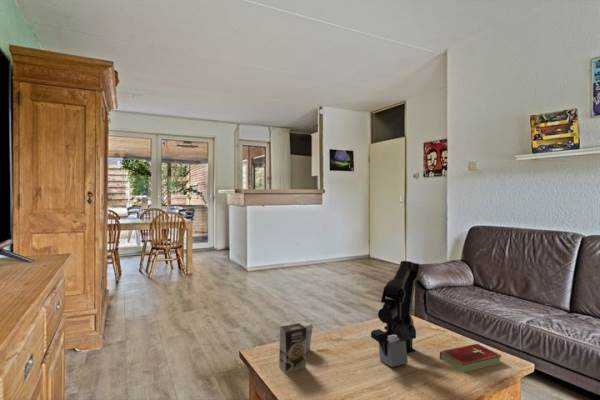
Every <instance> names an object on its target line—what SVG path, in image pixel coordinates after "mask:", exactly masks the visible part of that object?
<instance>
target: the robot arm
mask: <svg viewBox="0 0 600 400" xmlns="http://www.w3.org/2000/svg"><path fill="white" fill-rule="evenodd" d="M422 270H423V269H422V266H421V265H420V264H419V263H418V262H412V261H408V260H401V261H400V263H399V267H398V269H397V271H396V273H395V274H394V275H395V276H394V277H393V279H391V280H389V281H388V282H386V285H385V286H384V288H383V291H382V295H381V300H380V303H383V304H382V305H383V306H382V308H380V309H379V310H378V312H377V313H378V314H377V316H378V319H379V321H381V322H382V323H383V324H386V325H385V326H384V330H386V331H383V330H382V329H379V328H378V329H373V330H372V331H370V332H371V333H370V338H372V339H373V340H375V341H376V342H378V345H379V344H380V346H381V348H382V351H383V353H384V355H385V356H387V344H388V343H389V341H388V340H387V339H388V337H389V336H396V337H398V338H399V339H400V340H401V341H406V349H407V354H408V353H411V352H412V353H413V352H415V351H416V349H415V348H413V340H414V339H416V338H417V330H416V327H415V326H414V319H413V317H412V309H413V308H412V307H413V300H414V293H415V285H416V282H417V281H418V280H420V276H421V274H422Z"/></svg>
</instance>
